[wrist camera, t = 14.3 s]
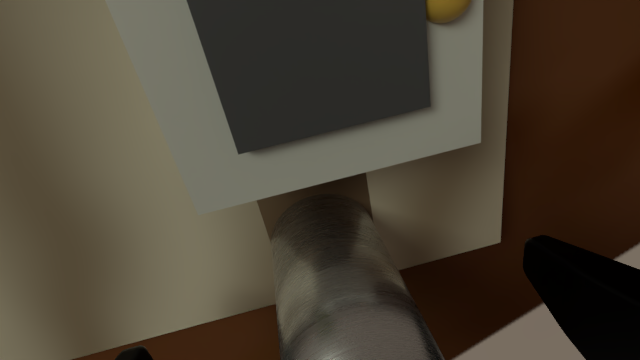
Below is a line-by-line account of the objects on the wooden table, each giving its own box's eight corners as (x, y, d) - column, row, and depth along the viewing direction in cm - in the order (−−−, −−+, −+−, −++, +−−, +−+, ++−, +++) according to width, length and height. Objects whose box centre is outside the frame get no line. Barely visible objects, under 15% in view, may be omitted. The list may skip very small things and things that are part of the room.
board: (-37, 354, 12) (-71, 397, 11) (-483, -75, 7) (-667, -89, 5) (475, 217, 13) (500, 242, 12) (481, -263, 7) (530, -316, 6)
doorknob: (278, 299, 11) (316, 729, 5) (244, 203, 10) (230, 666, 3) (389, 269, 12) (573, 641, 5) (375, 169, 10) (629, 539, 3)
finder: (213, 150, 9) (195, 228, 6) (114, -115, 6) (4, -198, 3) (417, 100, 9) (493, 151, 6) (398, -174, 6) (510, -296, 4)
